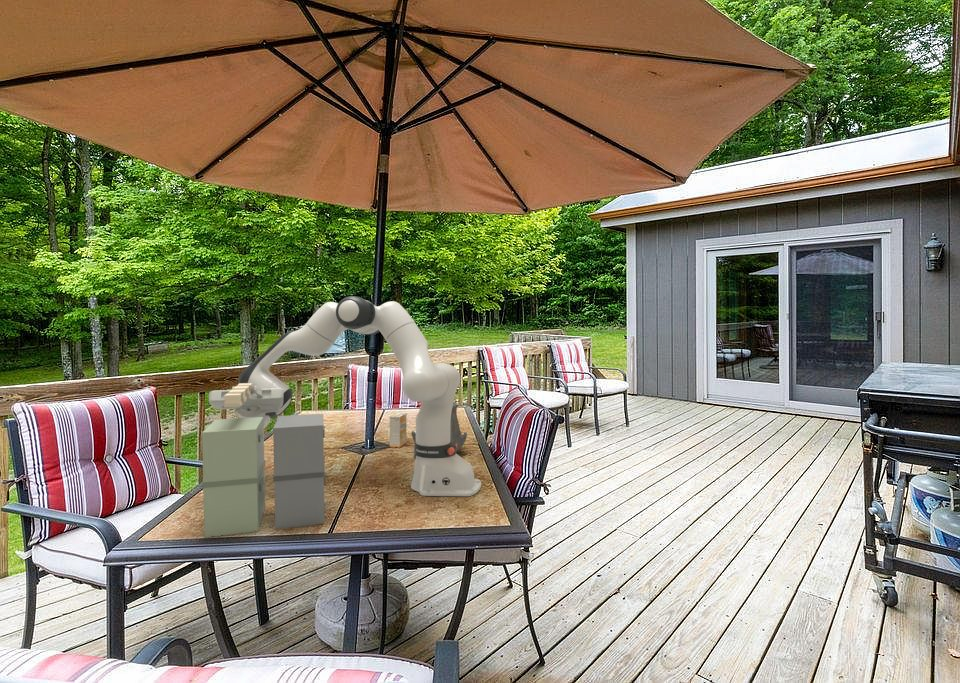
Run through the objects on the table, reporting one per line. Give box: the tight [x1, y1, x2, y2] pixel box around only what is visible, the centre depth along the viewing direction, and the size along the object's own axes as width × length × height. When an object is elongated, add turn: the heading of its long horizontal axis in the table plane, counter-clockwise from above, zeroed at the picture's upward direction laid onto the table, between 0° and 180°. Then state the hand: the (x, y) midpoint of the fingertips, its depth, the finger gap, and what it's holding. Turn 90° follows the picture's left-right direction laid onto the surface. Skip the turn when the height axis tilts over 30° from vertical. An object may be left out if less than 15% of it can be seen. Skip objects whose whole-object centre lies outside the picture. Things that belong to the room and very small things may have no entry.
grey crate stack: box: [272, 413, 326, 530], centre depth 135 cm, size 16×13×26 cm
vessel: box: [410, 401, 468, 453], centre depth 197 cm, size 22×22×20 cm
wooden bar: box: [224, 383, 253, 407], centre depth 134 cm, size 23×4×3 cm, turn 17°
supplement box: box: [389, 412, 407, 449], centre depth 208 cm, size 8×5×13 cm, turn 168°
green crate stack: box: [201, 417, 266, 538], centre depth 130 cm, size 16×13×26 cm
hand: (244, 388), depth 142 cm, fingers closed on wooden bar, 3 cm apart
